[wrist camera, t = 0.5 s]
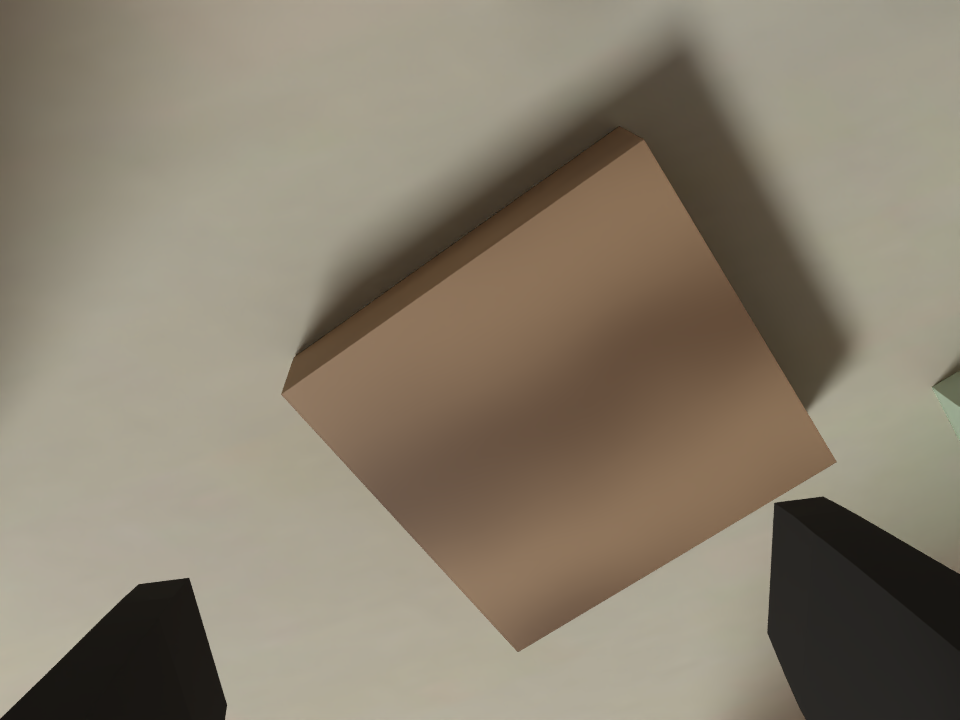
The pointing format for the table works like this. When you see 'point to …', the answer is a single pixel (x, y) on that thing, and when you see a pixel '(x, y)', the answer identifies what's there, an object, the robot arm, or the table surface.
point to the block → (950, 399)
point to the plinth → (562, 396)
